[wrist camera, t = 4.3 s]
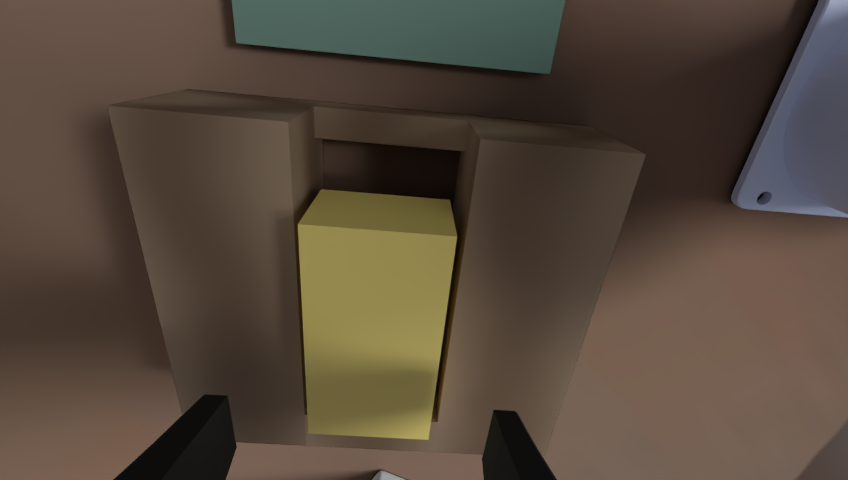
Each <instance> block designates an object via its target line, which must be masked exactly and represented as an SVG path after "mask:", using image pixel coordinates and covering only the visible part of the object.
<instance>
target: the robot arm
mask: <svg viewBox="0 0 848 480" xmlns="http://www.w3.org/2000/svg"><path fill="white" fill-rule="evenodd" d="M763 192H764V193H763ZM761 193H763V196H762V197H761V198H760V199H759V200H757V198H758V196H759V195H760V194H761ZM731 200H732V202H733V204H734V205H736V206H738V207H740V208H743V209H750V210H762V211H774V212H786V213H798V214H810V215H822V216H834V217H845V218H848V0H819V1H818V4H817V6H816V8H815V10H814V12H813V15H812V17H811V19H810V21H809V24H808V26H807V28H806V30H805V32H804V35H803V37H802V39H801V41H800V44H799V46H798V48H797V50H796V52H795V55H794V57H793V59H792V61H791V64H790V66H789V68H788V70H787V72H786V75H785V77H784V79H783V81H782V83H781V86H780V88H779V90H778V92H777V95H776V97H775V99H774V101H773V103H772V106H771V108H770V110H769V112H768V115H767V117H766V119H765V121H764V123H763V126H762V128H761V130H760V132H759V135H758V137H757V139H756V141H755V143H754V146H753V148H752V150H751V152H750V154H749V157H748V159H747V161H746V163H745V166H744V168H743V170H742V172H741V174H740V177H739V179H738V181H737V183H736V186H735V188H734V190H733V192H732V196H731ZM235 450H236V441H235V435H234V429H233V423H232V417H231V411H230V405H229V399H228V396H227V395H208V394H204V395H203V396H202V397H201V398H200V399H199V400H198V401H196V402H195V403H194V404H193V405H192V406H191V407H190V408H189V409H188V410H187V411H186V412H185V413H184V414H183V415H182V416H181V417H180V418H179V419H178V420H177V421H176V422H175V423H174V424H173V425H172V426H171V427H170V428H169V429H168V430H167V431H166V432H164V433H163V434H162V435H161V436H160V437H159V438H158V439H157V440H156V441H155V442H154V443H153V444H152V445H151V446H150V447H149V448H148V449H146V450H145V451H144V452H143V453H142V454H141V455H140V456H139V457H138V458H137V459H136V460H135V461H133V462H132V463H131V464H130V465H129V466H128V467H127V468H126V469H125V470H124V471H123V472H121V473H120V474H119V475H118V476H117V477H116V478H115V479H113V480H225V479H226V477H227V474H228V471H229V468H230V465H231V462H232V459H233V456H234V453H235ZM482 462H483V474H484V480H557V479H556V478H555V476H554V475H553V473H552V471H551V470H550V468H549V467H548V465H547V463H546V462H545V460H544V458H543V457H542V455H541V453H540V452H539V450H538V448H537V447H536V445H535V443H534V442H533V440H532V438H531V436H530V435H529V433H528V431H527V429H526V427H525V426H524V424H523V422H522V420H521V418H520V416H519V415H518V413H517V412H516V411H508V410H493V414H492V419H491V423H490V427H489V432H488V436H487V440H486V444H485V449H484V453H483V457H482Z"/></svg>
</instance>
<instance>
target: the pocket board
mask: <svg viewBox="0 0 848 480" xmlns="http://www.w3.org/2000/svg"><path fill="white" fill-rule="evenodd" d="M107 108H108V112H109V117H110V121H111V125H112V129H113V133H114V137H115V141H116V145H117V149H118V153H119V157H120V162H121V166H122V170H123V174H124V178H125V182H126V186H127V190H128V194H129V198H130V202H131V206H132V211H133V215H134V219H135V223H136V227H137V231H138V235H139V239H140V243H141V247H142V251H143V255H144V260H145V264H146V268H147V272H148V276H149V280H150V284H151V288H152V292H153V296H154V300H155V305H156V309H157V313H158V317H159V321H160V325H161V329H162V333H163V337H164V341H165V345H166V349H167V354H168V358H169V362H170V366H171V370H172V374H173V378H174V382H175V386H176V390H177V394H178V398H179V403H180V407H181V411H182V415H183V414H184V413H185V412H186V411H187V410H188V409H189V408H190V407H191V406H192V405H193V404H194V403H195V402H196V401H198V400H199V399H200V398H201V397H202V396H203V395H204V394H208V395H227V396H228V399H229V405H230V411H231V417H232V423H233V429H234V435H235V441H236V442H243V443H263V444H283V445H303V446H322V447H342V448H362V449H382V450H401V451H421V452H441V453H461V454H480V455H483V453H484V449H485V444H486V440H487V436H488V432H489V427H490V423H491V419H492V414H493V410H508V411H516V412H517V413H518V415H519V416H520V418H521V420H522V422H523V424H524V426H525V427H526V429H527V431H528V433H529V435H530V436H531V438H532V440H533V442H534V443H535V445H536V447H537V448H538V450H539V452H540V453H541V455H542V457H543V458H544V456H545V453H546V450H547V447H548V444H549V441H550V438H551V435H552V433H553V430H554V427H555V424H556V421H557V418H558V415H559V412H560V409H561V406H562V403H563V400H564V397H565V394H566V391H567V388H568V385H569V382H570V379H571V376H572V373H573V370H574V367H575V364H576V361H577V358H578V355H579V352H580V349H581V346H582V343H583V340H584V337H585V335H586V332H587V329H588V326H589V323H590V320H591V317H592V314H593V311H594V308H595V305H596V302H597V299H598V296H599V293H600V290H601V287H602V284H603V281H604V278H605V275H606V272H607V269H608V266H609V263H610V260H611V257H612V254H613V251H614V248H615V245H616V242H617V239H618V237H619V234H620V231H621V228H622V225H623V222H624V219H625V216H626V213H627V210H628V207H629V204H630V201H631V198H632V195H633V192H634V189H635V186H636V183H637V180H638V177H639V174H640V171H641V168H642V165H643V162H644V159H645V156H646V154H645V153H643V152H641V151H639V150H637V149H634V148H632V147H630V146H628V145H626V144H624V143H622V142H620V141H618V140H616V139H614V138H612V137H610V136H608V135H606V134H604V133H602V132H600V131H598V130H596V129H594V128H592V127H589V126H579V125H568V124H557V123H546V122H536V121H525V120H514V119H503V118H493V117H482V116H471V115H460V114H450V113H439V112H428V111H417V110H407V109H396V108H385V107H374V106H364V105H353V104H342V103H331V102H321V101H310V100H299V99H288V98H278V97H267V96H256V95H245V94H234V93H224V92H213V91H202V90H191V89H188V90H183V91H178V92H173V93H168V94H163V95H158V96H153V97H148V98H143V99H138V100H133V101H128V102H123V103H118V104H113V105H108V106H107ZM323 139H331V140H343V141H354V142H365V143H377V144H388V145H399V146H411V147H422V148H433V149H445V150H456V151H460V157H459V164H458V172H457V180H456V187H455V195H454V202H453V210H452V213H453V218H454V223H455V228H456V233H457V241H456V248H455V255H454V263H453V270H452V277H451V284H450V291H449V298H448V305H447V312H446V319H445V326H444V333H443V340H442V348H441V355H440V362H439V369H438V376H437V383H436V390H435V397H434V404H433V411H432V418H431V425H430V433H429V440H421V439H402V438H383V437H364V436H345V435H325V434H308V415H307V395H306V376H305V356H304V337H303V318H302V298H301V279H300V259H299V240H298V223H299V221H300V220H301V219H302V217H303V216H304V214H305V213H306V211H307V210H308V208H309V207H310V205H311V204H312V202H313V201H314V199H315V198H316V196H317V195H318V193H319V192H320V190H321V189H324V181H323Z"/></svg>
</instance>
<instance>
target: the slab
mask: <svg viewBox="0 0 848 480" xmlns="http://www.w3.org/2000/svg"><path fill="white" fill-rule="evenodd" d="M298 240H299V259H300V279H301V298H302V318H303V337H304V356H305V376H306V395H307V415H308V434H325V435H345V436H364V437H383V438H402V439H421V440H429V433H430V425H431V418H432V411H433V404H434V397H435V390H436V383H437V376H438V369H439V362H440V355H441V348H442V340H443V333H444V326H445V319H446V312H447V305H448V298H449V291H450V284H451V277H452V270H453V263H454V255H455V248H456V241H457V233H456V228H455V223H454V218H453V213H452V208H451V203H450V200H447V199H434V198H422V197H410V196H398V195H386V194H374V193H361V192H349V191H337V190H325V189H321V190H320V192H319V193H318V195H317V196H316V198H315V199H314V201H313V202H312V204H311V205H310V207H309V208H308V210H307V211H306V213H305V214H304V216H303V217H302V219H301V220H300V221H299V223H298Z"/></svg>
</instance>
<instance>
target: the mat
mask: <svg viewBox="0 0 848 480" xmlns="http://www.w3.org/2000/svg"><path fill="white" fill-rule="evenodd" d="M564 5H565V0H232V9H233V19H234V28H235V38H236V43H240V44H250V45H260V46H270V47H280V48H291V49H301V50H311V51H321V52H331V53H341V54H351V55H361V56H371V57H381V58H391V59H402V60H412V61H422V62H432V63H442V64H452V65H462V66H472V67H482V68H492V69H502V70H513V71H523V72H533V73H543V74H550V71H551V66H552V61H553V57H554V52H555V47H556V43H557V38H558V33H559V28H560V24H561V19H562V14H563V10H564Z"/></svg>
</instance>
